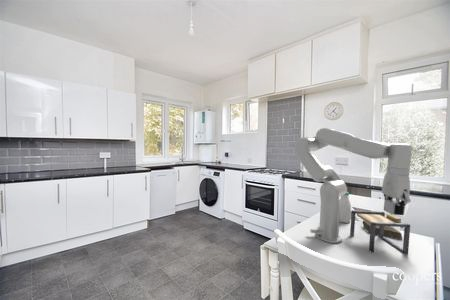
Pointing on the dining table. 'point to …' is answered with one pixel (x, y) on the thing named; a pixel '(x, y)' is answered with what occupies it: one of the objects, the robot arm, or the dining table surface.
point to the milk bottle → (345, 208)
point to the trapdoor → (379, 218)
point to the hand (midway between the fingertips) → (393, 211)
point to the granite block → (390, 206)
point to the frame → (382, 231)
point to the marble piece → (387, 230)
